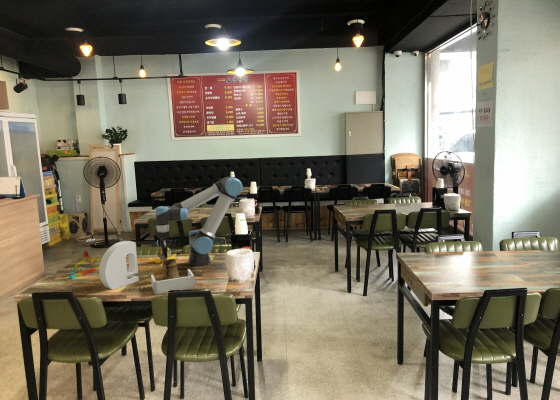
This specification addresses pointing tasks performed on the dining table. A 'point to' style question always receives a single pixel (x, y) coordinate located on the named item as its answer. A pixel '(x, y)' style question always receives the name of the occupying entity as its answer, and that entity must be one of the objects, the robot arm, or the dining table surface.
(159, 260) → the banana peel
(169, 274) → the wooden mug
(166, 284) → the box
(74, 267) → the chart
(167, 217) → the robot arm
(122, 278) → the bracket
